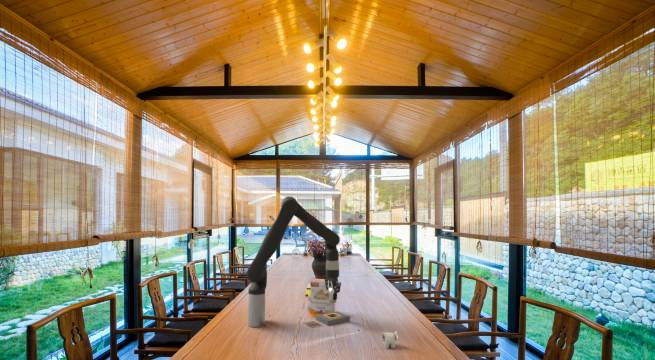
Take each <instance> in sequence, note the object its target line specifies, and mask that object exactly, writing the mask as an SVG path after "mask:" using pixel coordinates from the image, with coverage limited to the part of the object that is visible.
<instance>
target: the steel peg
mask: <svg viewBox="0 0 655 360" xmlns="http://www.w3.org/2000/svg"><path fill="white" fill-rule="evenodd" d="M329 302H330V303H335V304H336V303H337V300H333V289H332V287H329Z"/></svg>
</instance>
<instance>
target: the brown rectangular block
mask: <svg viewBox="0 0 655 360" xmlns="http://www.w3.org/2000/svg"><path fill="white" fill-rule="evenodd" d="M302 324H303V325H305V326H307V327H309V328H311V329H315V328H319V327H324V325H323V324H322V323H320V322H318V321H316V320H315V321H314V320H313V321H312V320H311V321H308V322H303V323H302Z"/></svg>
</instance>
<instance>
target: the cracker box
mask: <svg viewBox="0 0 655 360" xmlns="http://www.w3.org/2000/svg"><path fill="white" fill-rule="evenodd" d="M325 279H326V278H325ZM325 279H324V278H313V279H311V280H310V298H309V299H310V311H309V312H310V313H313V314H326V313H331V312H336V311H335V310H336V307H335V306H336V303H330V302H329V292H328V290H326V285H325ZM327 287H328V285H327Z"/></svg>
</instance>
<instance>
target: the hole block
mask: <svg viewBox="0 0 655 360" xmlns="http://www.w3.org/2000/svg"><path fill="white" fill-rule="evenodd" d="M315 321H316V322H318V323H320V324H322V325H323V324H324V326H332V325H333V326H334V325H336V324H337V325H338V324H342V323H347V322H350V321H351V317H350V315H348V314H345V313H343V312H340V311H337V310H336V311H335V312H331V313H326V314H322V313H320V314H316V315H315Z"/></svg>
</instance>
